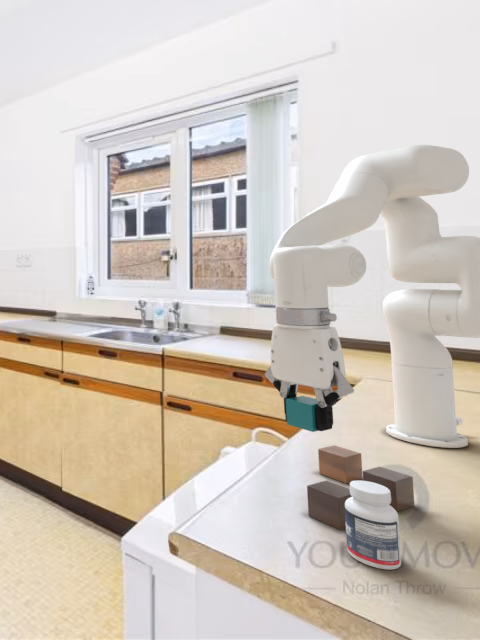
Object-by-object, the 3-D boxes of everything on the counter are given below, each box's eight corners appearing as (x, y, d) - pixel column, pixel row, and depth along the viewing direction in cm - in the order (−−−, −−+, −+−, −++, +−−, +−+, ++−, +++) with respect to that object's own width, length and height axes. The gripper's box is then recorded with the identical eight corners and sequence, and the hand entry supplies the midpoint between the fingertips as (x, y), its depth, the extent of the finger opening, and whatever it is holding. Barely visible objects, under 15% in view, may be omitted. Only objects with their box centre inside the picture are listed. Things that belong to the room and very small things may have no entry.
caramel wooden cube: (335, 469, 87) (334, 445, 87) (362, 479, 83) (361, 453, 83) (319, 473, 85) (318, 448, 86) (346, 483, 81) (344, 457, 81)
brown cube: (327, 509, 73) (326, 480, 73) (360, 523, 68) (358, 492, 69) (308, 515, 71) (306, 485, 71) (340, 530, 67) (338, 498, 67)
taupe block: (381, 494, 77) (379, 466, 77) (414, 506, 73) (413, 476, 73) (363, 499, 76) (362, 470, 76) (397, 511, 72) (395, 481, 72)
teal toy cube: (304, 420, 85) (302, 395, 85) (330, 427, 81) (329, 401, 81) (287, 424, 83) (285, 398, 83) (313, 432, 79) (311, 405, 79)
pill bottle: (350, 541, 64) (347, 474, 64) (403, 557, 60) (399, 486, 61) (343, 558, 60) (339, 486, 61) (398, 576, 57) (394, 500, 57)
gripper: (371, 320, 76) (379, 436, 75) (270, 313, 92) (276, 409, 91) (341, 324, 73) (348, 444, 73) (242, 316, 89) (248, 415, 88)
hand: (308, 424), depth 82 cm, fingers closed on teal toy cube, 4 cm apart
